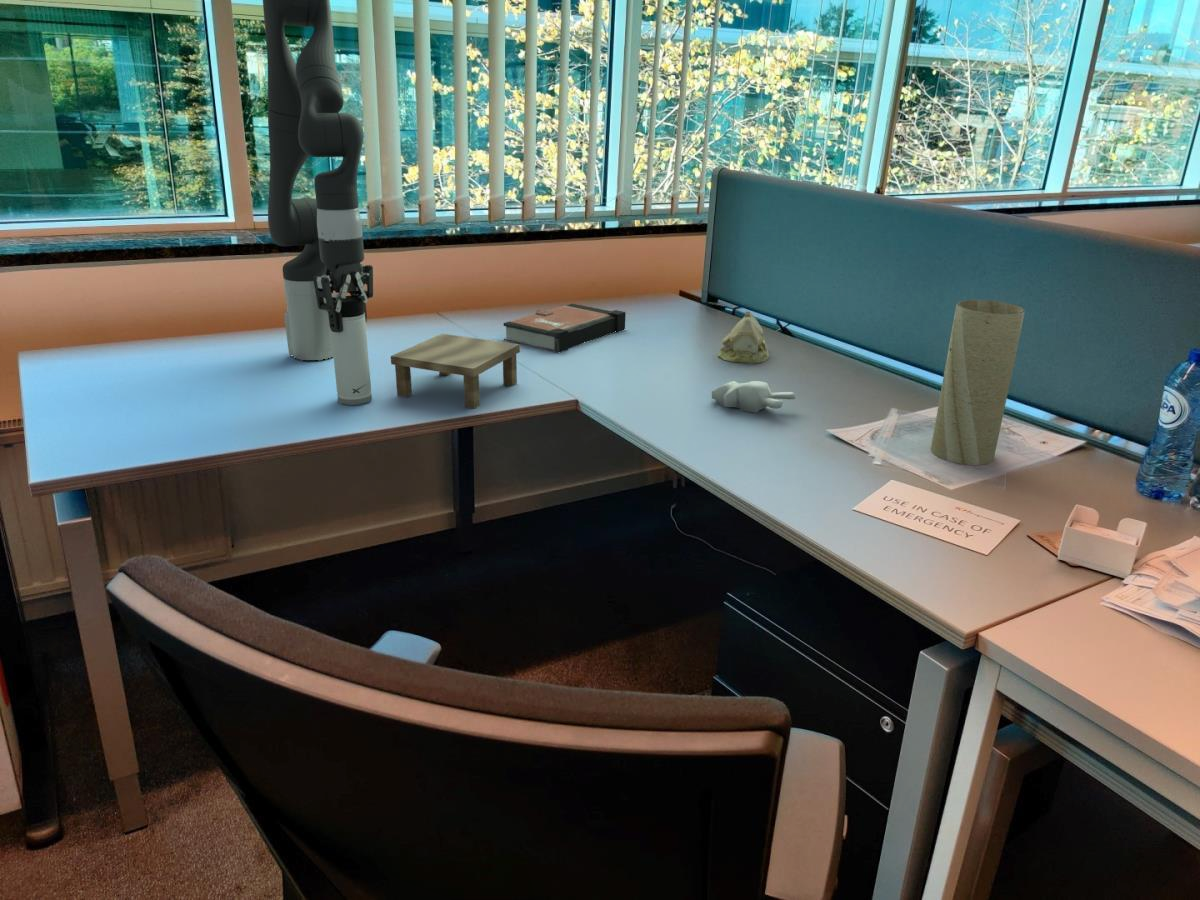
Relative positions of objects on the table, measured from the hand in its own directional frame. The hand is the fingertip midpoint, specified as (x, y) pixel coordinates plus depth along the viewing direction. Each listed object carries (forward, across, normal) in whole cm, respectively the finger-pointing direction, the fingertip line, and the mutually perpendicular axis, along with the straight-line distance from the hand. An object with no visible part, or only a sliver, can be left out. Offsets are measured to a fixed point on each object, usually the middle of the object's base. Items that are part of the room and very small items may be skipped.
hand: (349, 327), depth 159 cm
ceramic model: (+15, -64, +59) cm, 88 cm away
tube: (+14, -22, +107) cm, 110 cm away
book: (+15, -61, +16) cm, 65 cm away
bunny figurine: (+15, -28, +69) cm, 76 cm away
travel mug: (+14, 0, 0) cm, 14 cm away
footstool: (+14, -14, +14) cm, 24 cm away
